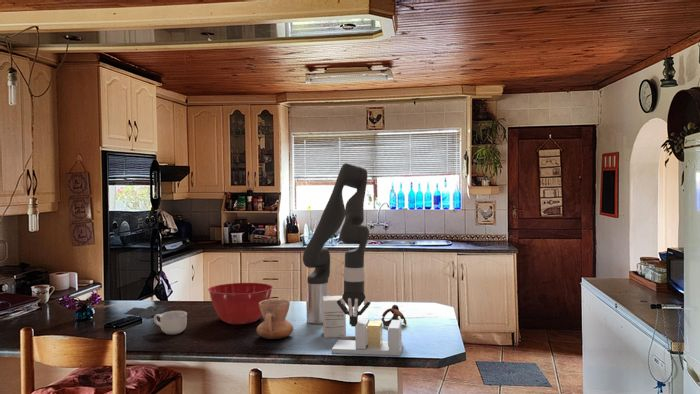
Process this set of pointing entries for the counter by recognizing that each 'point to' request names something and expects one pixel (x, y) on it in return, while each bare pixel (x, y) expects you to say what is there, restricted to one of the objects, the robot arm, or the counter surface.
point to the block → (374, 334)
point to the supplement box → (333, 317)
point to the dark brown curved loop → (395, 315)
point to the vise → (387, 348)
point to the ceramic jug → (274, 319)
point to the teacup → (172, 321)
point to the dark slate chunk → (146, 312)
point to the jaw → (359, 334)
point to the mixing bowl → (239, 301)
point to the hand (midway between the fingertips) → (353, 325)
